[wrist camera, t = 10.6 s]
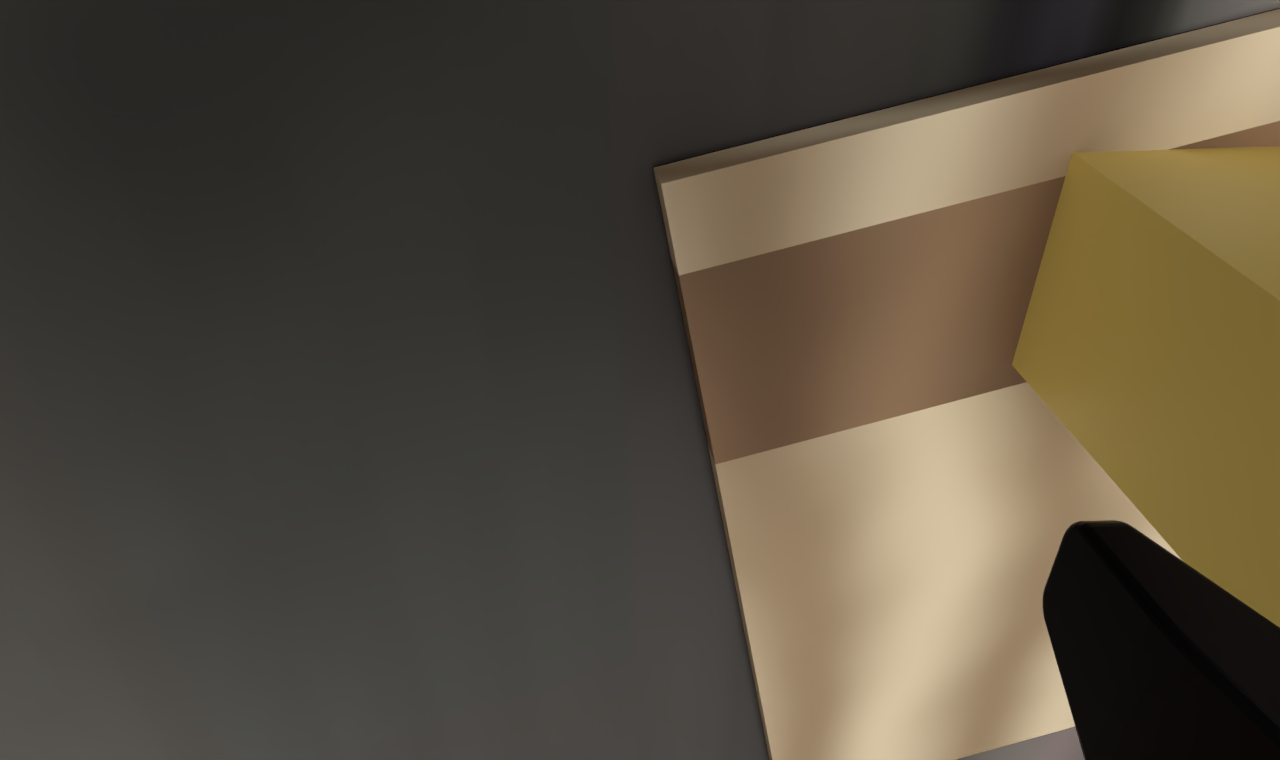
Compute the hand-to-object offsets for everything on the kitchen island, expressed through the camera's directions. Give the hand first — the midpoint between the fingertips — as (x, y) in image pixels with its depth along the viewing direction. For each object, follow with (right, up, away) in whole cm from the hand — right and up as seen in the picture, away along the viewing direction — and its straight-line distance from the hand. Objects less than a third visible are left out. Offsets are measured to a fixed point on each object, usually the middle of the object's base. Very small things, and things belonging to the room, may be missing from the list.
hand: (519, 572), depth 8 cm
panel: (+10, -1, +18) cm, 21 cm away
